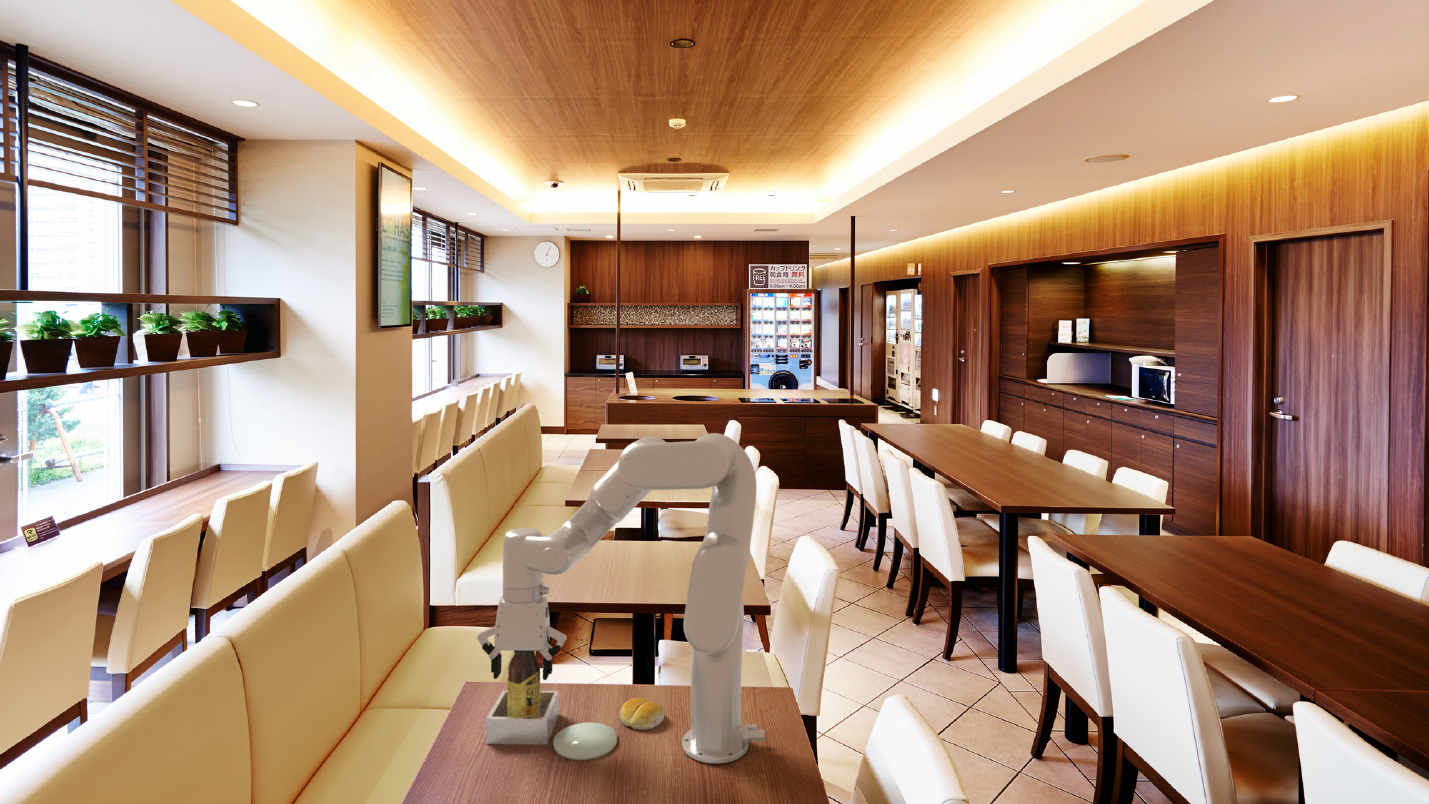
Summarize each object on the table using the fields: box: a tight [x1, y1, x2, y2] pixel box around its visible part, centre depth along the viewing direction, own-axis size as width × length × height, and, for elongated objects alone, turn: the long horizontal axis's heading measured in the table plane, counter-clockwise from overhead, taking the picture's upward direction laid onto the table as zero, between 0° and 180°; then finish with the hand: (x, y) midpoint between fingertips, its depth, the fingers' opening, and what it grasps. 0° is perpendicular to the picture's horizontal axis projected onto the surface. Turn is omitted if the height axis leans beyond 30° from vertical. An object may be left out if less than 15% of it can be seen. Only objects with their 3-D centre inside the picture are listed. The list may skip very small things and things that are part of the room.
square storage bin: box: [485, 689, 560, 745], centre depth 147 cm, size 12×12×5 cm
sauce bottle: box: [507, 651, 541, 717], centre depth 146 cm, size 6×6×20 cm
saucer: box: [553, 722, 618, 761], centre depth 142 cm, size 12×12×1 cm
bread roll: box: [619, 697, 665, 731], centre depth 151 cm, size 8×9×4 cm
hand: (521, 676), depth 146 cm, fingers open, 9 cm apart
